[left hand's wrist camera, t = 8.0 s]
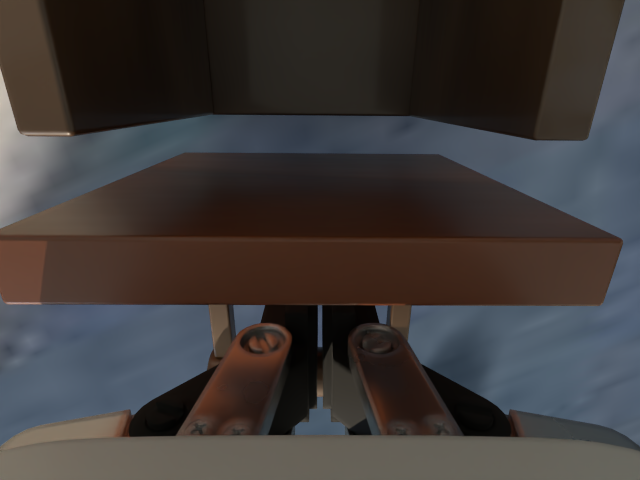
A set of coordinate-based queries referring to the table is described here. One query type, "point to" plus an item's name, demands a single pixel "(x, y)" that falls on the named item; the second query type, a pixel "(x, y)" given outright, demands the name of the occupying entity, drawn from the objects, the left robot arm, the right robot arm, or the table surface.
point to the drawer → (306, 154)
